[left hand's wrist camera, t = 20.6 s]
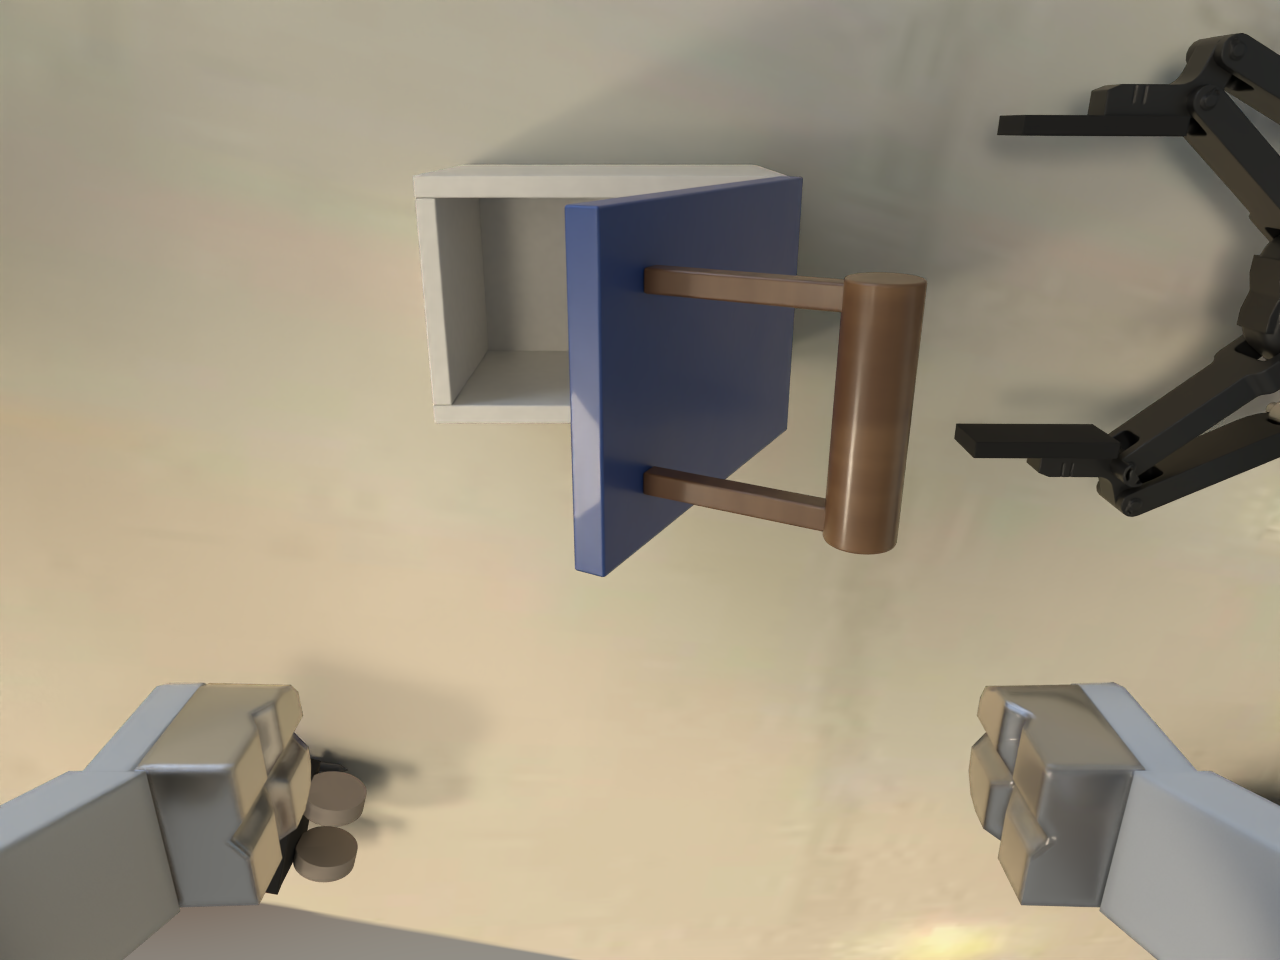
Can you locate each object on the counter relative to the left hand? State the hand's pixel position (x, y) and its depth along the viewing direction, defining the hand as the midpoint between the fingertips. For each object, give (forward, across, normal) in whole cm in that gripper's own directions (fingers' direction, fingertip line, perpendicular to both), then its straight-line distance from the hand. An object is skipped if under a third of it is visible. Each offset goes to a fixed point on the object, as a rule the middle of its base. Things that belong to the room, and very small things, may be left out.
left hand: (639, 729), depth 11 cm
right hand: (+30, -15, 0) cm, 34 cm away
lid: (+20, -2, 0) cm, 20 cm away
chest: (+38, +2, 0) cm, 38 cm away
